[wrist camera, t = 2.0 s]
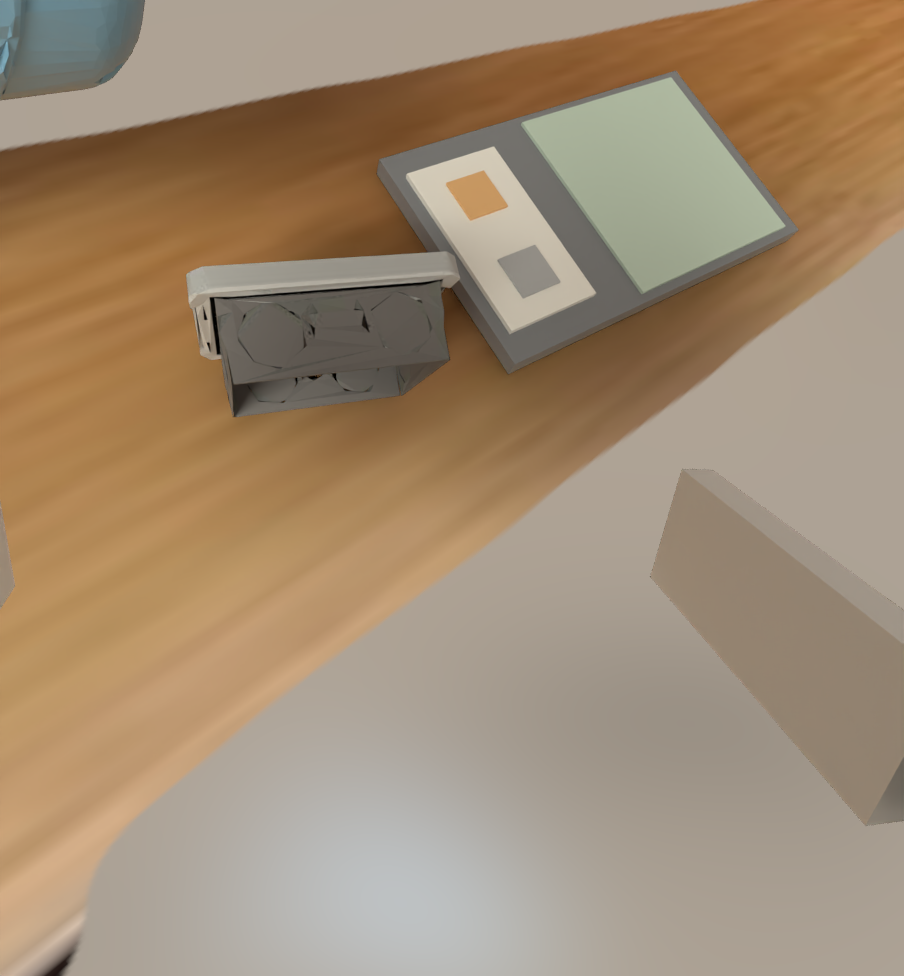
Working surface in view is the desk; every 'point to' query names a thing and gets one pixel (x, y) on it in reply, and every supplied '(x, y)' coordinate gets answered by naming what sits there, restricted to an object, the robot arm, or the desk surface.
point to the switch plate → (584, 212)
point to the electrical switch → (322, 327)
